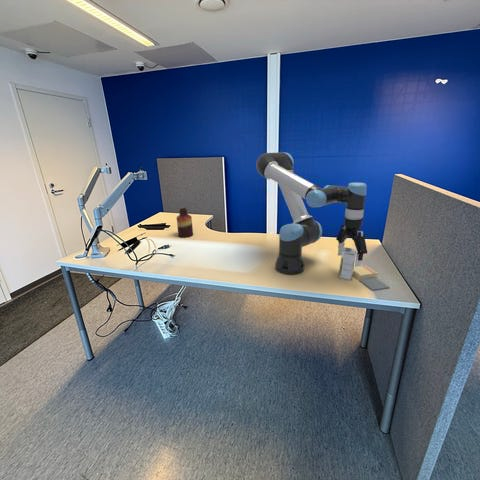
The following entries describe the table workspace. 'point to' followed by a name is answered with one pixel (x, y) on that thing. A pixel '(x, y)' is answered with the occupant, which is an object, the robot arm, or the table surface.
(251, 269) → the table surface
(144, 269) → the table surface
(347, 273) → the syrup box
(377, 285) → the stub mat
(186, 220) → the brown cylindrical bottle
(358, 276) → the board
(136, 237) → the table surface
